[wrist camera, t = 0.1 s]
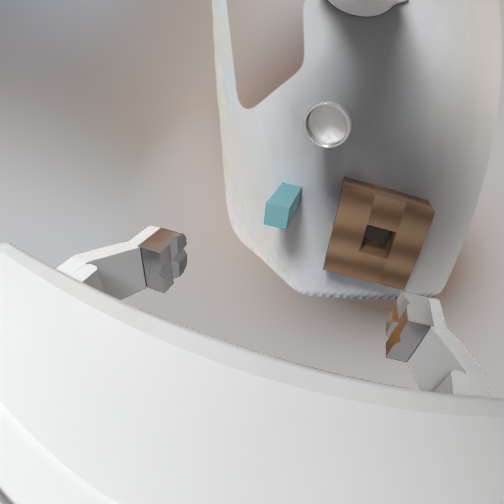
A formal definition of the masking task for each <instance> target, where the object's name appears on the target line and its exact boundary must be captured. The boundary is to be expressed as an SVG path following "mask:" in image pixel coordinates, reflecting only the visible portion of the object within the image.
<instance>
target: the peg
mask: <svg viewBox="0 0 504 504" xmlns="http://www.w3.org/2000/svg"><path fill="white" fill-rule="evenodd" d="M301 189H302V187H300V186H295V185H290V184H286V183H282V184H281V186H280V187H279V188H278V189H277V191H276V192H275V193H274V194H273V196H272V197H271V198H270V199H269V200H268V202H267V203H266V210H265V218H264V224H265V225H269V226H274V227H278V228H282V229H286V228H287V227H288V225H289V223H290V221H291V219H292V217H293V215H294V213H295V211H296V209H297V207H298V206H299V201H300V195H301Z"/></svg>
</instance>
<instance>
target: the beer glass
mask: <svg viewBox="0 0 504 504" xmlns="http://www.w3.org/2000/svg"><path fill="white" fill-rule="evenodd" d="M303 125H304V131H305V133H306V135H307V137H308V138H309V139H310V141H311V142H313V143H314V144H316V145H317V146H320V147H323V148H333V147H337V146H339V145H341V144H342V143H343V142H344V141H345V140H346V139H347V138H348V136H349V134H350V132H351V128H352V121H351V117H350V115H349V113H348V112H347V110H346V109H345V108H344V107H343V106H341V105H340V104H338V103H335V102H331V101H324V102H320V103H318V104H316V105H314V106H313V107H311V108H310V109H309V110H308V112H307V113H306V115H305V117H304V123H303Z"/></svg>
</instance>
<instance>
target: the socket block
mask: <svg viewBox="0 0 504 504" xmlns="http://www.w3.org/2000/svg"><path fill="white" fill-rule="evenodd" d="M434 213H435V212H434V210H433V208H432V207H431V205H430V203H429V202H428V201H426V200H423V199H420V198H417V197H414V196H411V195H407V194H404V193H401V192H397V191H394V190H390V189H387V188H383V187H380V186H376V185H372V184H369V183H365V182H361V181H357V180H353V179H349V178H345V177H344V181H343V186H342V191H341V195H340V200H339V204H338V209H337V213H336V217H335V222H334V226H333V230H332V234H331V238H330V242H329V246H328V250H327V254H326V258H325V263H324V267H323V269H324V270H328V271H332V272H336V273H340V274H344V275H347V276H351V277H355V278H359V279H363V280H367V281H371V282H374V283H378V284H382V285H386V286H390V287H394V288H398V289H401V290H404V288H405V286H406V283H407V281H408V279H409V277H410V275H411V272H412V270H413V268H414V265H415V263H416V261H417V258H418V256H419V253H420V251H421V248H422V246H423V243H424V241H425V238H426V236H427V233H428V230H429V227H430V225H431V222H432V219H433V216H434ZM367 224H368V225H371V226H375V227H379V228H382V229H386V230H390V232H389V235H388V238H387V241H386V244H381V243H377V242H374V241H370V240H366V239H363V237H364V234H365V230H366V227H367Z"/></svg>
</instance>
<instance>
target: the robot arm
mask: <svg viewBox="0 0 504 504" xmlns="http://www.w3.org/2000/svg"><path fill="white" fill-rule="evenodd" d="M328 1H329V2H330V3H331V4H332V5H334V6H335V7H336V8H338V9H340V10H342V11H344V12H346V13H349V14H352V15H356V16H376V15H380V14H382V13H384V12H386V11H388V10H389V9H390V8H391V7H392V6H393V5H395V4H398V3H402V2H405V1H407V0H328ZM186 245H187V243H186V236H185V235H184V234H182V233H178V232H175V231H171V230H167V229H164V228H161V227H157V226H149V227H147V228H146V229H145V230H143V231H142V232H141V233H139V234H138V235H137V236H135V237H134V238H133V239H131V240H130V241H129V242H128V243H125V242H123V243H119V244H115V245H111V246H107V247H103V248H100V249H96V250H92V251H88V252H85V253H81V254H77V255H74V256H72V257H71V258H70V259H68V260H67V261H66V262H65V263H63V264H62V265H60V266H59V267H58V268H57V269H56V268H54V267H52V266H50V265H48V264H46V263H44V262H43V261H41V260H39V259H37V258H35V257H33V256H32V255H30V254H28V253H27V252H25V251H23V250H21V249H20V248H18V247H16V246H15V245H13V244H12V243H9V242H1V243H0V504H504V399H503V398H502V399H501V398H490V392H489V387H488V382H487V377H486V373H485V372H484V371H483V370H482V368H481V367H480V366H479V365H478V363H477V362H476V361H475V360H474V359H473V357H472V356H471V355H470V353H469V352H468V351H467V350H466V349H465V348H464V346H463V345H462V344H461V343H460V341H459V340H458V339H457V338H456V337H455V336H454V334H453V333H452V332H451V331H449V330H447V328H446V323H445V319H444V315H443V312H442V308H441V304H440V301H439V300H438V299H435V298H430V297H425V296H421V295H416V294H412V293H408V292H404V291H402V292H401V293H400V294H399V296H398V298H397V307H395V308H393V309H392V310H391V313H390V315H389V317H388V321H387V324H386V335H387V336H388V338H389V339H388V341H387V343H386V358H390V359H394V360H398V361H403V362H407V363H406V364H407V366H408V368H409V369H410V371H411V373H412V375H413V377H414V379H415V381H416V383H417V385H418V387H419V389H420V390H418V389H411V388H405V387H400V386H394V385H388V384H382V383H378V382H372V381H368V380H363V379H358V378H354V377H350V376H345V375H341V374H337V373H333V372H328V371H324V370H320V369H317V368H313V367H309V366H305V365H301V364H298V363H294V362H290V361H287V360H284V359H280V358H277V357H273V356H270V355H267V354H263V353H260V352H257V351H254V350H250V349H247V348H244V347H241V346H238V345H235V344H232V343H229V342H226V341H223V340H220V339H217V338H214V337H212V336H209V335H206V334H203V333H200V332H198V331H195V330H192V329H189V328H187V327H184V326H181V325H179V324H176V323H174V322H171V321H169V320H166V319H164V318H161V317H159V316H156V315H154V314H151V313H149V312H147V311H144V310H142V309H140V308H137V307H135V306H133V305H130V304H128V303H126V302H123V301H121V300H122V299H124V298H126V297H128V296H130V295H133V294H135V293H137V292H139V291H141V290H143V289H145V288H146V287H148V288H151V289H153V290H156V291H159V292H162V293H165V292H166V291H167V290H168V289H169V288H170V287H171V286H172V285H173V283H174V281H173V279H174V278H177V277H180V276H181V274H182V273H183V272H184V270H185V267H186V264H187V254H186V252H185V250H184V249H183V248H184V247H185V246H186Z"/></svg>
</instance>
